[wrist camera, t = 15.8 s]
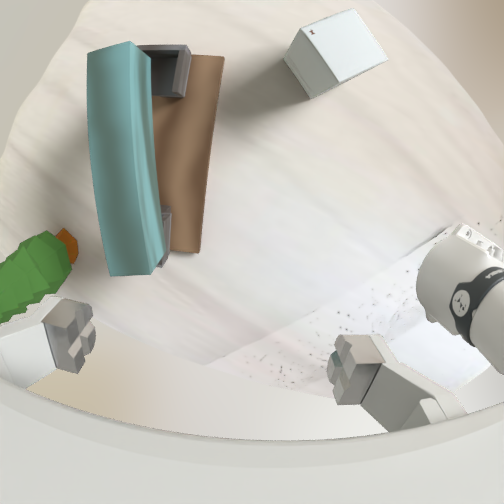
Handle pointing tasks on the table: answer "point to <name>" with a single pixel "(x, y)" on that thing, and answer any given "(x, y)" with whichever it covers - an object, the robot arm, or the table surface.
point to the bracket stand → (182, 138)
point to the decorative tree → (35, 271)
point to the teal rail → (124, 158)
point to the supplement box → (333, 52)
